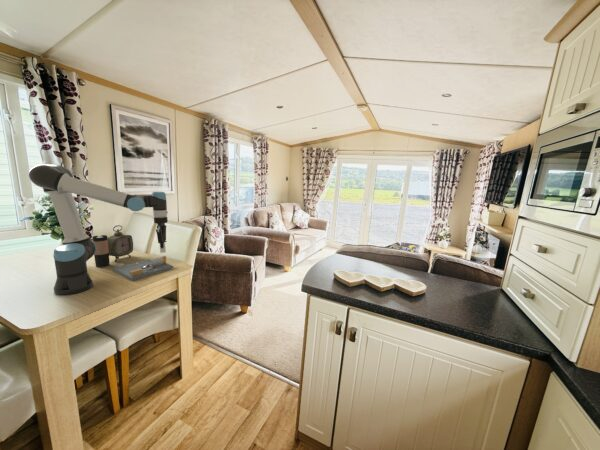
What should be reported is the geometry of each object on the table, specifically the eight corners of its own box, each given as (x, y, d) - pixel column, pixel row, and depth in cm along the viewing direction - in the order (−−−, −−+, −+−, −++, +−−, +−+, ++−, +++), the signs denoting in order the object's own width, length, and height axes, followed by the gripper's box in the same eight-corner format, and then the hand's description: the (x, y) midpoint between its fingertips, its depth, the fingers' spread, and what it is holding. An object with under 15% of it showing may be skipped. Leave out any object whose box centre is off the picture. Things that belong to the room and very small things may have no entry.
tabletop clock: (115, 263, 164) (112, 227, 159) (105, 261, 165) (101, 226, 161) (134, 256, 178) (131, 224, 173) (124, 255, 179) (121, 223, 174)
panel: (131, 280, 139) (131, 277, 139) (113, 270, 151) (112, 267, 151) (173, 268, 160) (172, 265, 160) (153, 260, 172) (153, 257, 172)
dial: (145, 270, 150) (144, 262, 149) (140, 267, 153) (139, 260, 152) (168, 263, 162) (167, 256, 161) (163, 261, 165) (162, 255, 164)
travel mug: (103, 267, 155) (100, 238, 151) (92, 267, 155) (88, 237, 151) (113, 263, 162) (110, 235, 159) (102, 263, 163) (99, 234, 159)
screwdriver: (131, 276, 141) (131, 272, 140) (129, 275, 142) (129, 271, 141) (153, 270, 151) (153, 266, 150) (151, 269, 152) (151, 265, 152)
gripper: (163, 218, 144) (166, 255, 149) (170, 214, 157) (172, 249, 161) (150, 218, 142) (153, 255, 147) (157, 214, 155) (159, 249, 159)
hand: (163, 252), depth 154 cm, fingers closed
